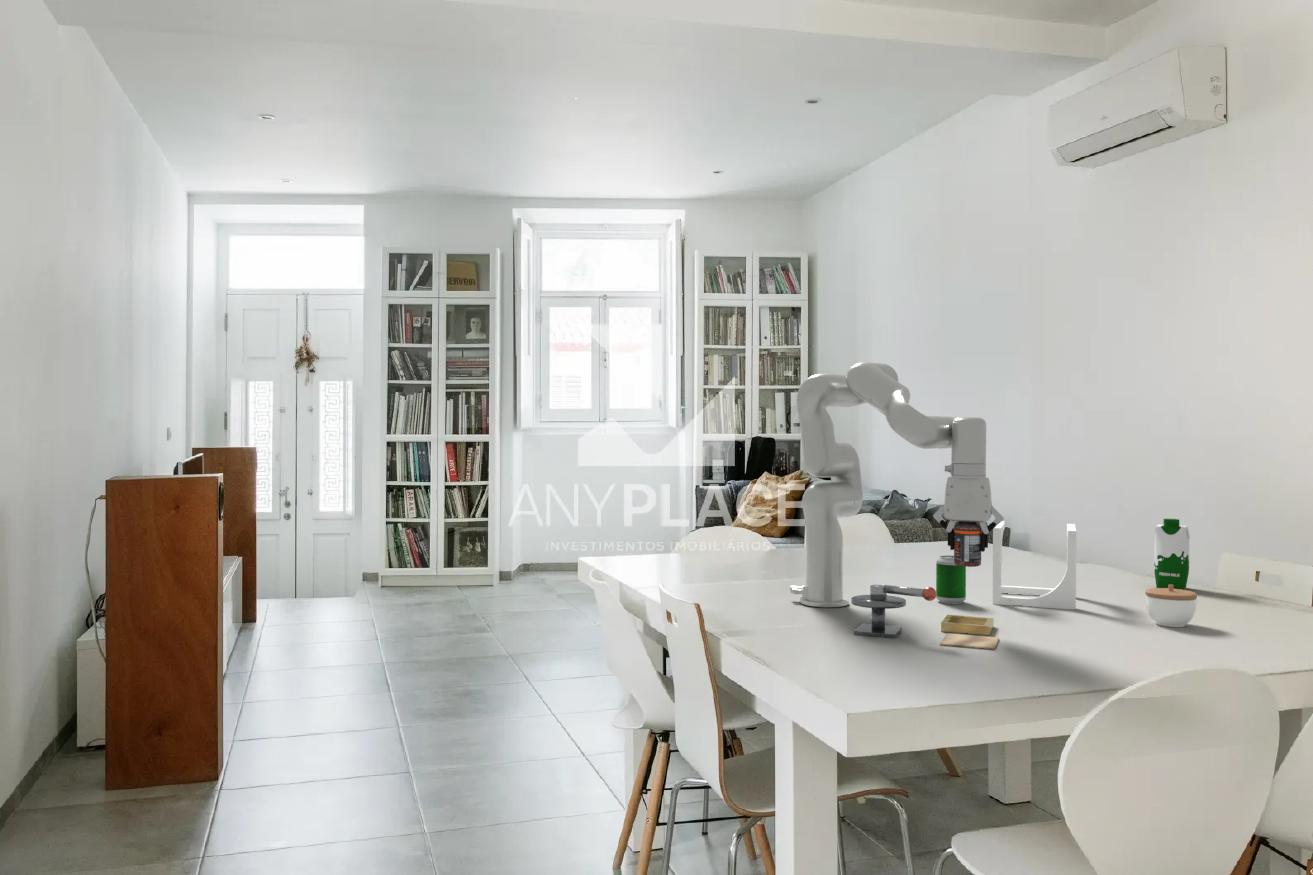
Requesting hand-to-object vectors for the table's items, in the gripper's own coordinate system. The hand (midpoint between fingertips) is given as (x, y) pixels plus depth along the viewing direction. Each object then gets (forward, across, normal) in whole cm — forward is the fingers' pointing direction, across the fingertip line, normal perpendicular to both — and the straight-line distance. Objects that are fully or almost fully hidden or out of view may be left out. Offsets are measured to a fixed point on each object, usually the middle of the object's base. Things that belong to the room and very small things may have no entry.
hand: (967, 549), depth 225 cm
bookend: (+19, +13, +46) cm, 52 cm away
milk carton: (+19, +48, +83) cm, 98 cm away
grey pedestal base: (+18, -18, -11) cm, 28 cm away
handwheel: (+12, -14, -12) cm, 22 cm away
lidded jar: (+18, +43, +25) cm, 53 cm away
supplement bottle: (+4, 0, 0) cm, 4 cm away
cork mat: (+18, +2, -14) cm, 23 cm away
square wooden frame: (+18, 0, 0) cm, 18 cm away
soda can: (+19, -8, +35) cm, 40 cm away
